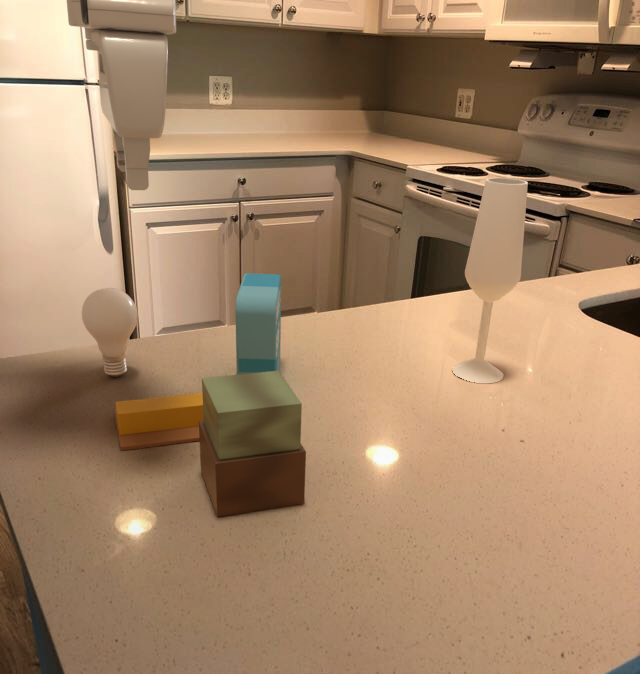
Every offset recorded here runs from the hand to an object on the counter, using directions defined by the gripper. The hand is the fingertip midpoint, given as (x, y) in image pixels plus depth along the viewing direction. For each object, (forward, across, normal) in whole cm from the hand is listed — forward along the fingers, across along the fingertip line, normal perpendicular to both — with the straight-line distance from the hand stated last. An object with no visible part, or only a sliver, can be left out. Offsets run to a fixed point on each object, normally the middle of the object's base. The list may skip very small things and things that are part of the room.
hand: (132, 179), depth 66 cm
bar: (+25, +2, +4) cm, 25 cm away
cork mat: (+25, +2, +4) cm, 25 cm away
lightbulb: (+26, -13, -2) cm, 29 cm away
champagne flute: (+24, -3, +43) cm, 49 cm away
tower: (+25, +16, +8) cm, 31 cm away
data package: (+25, -8, +15) cm, 30 cm away
